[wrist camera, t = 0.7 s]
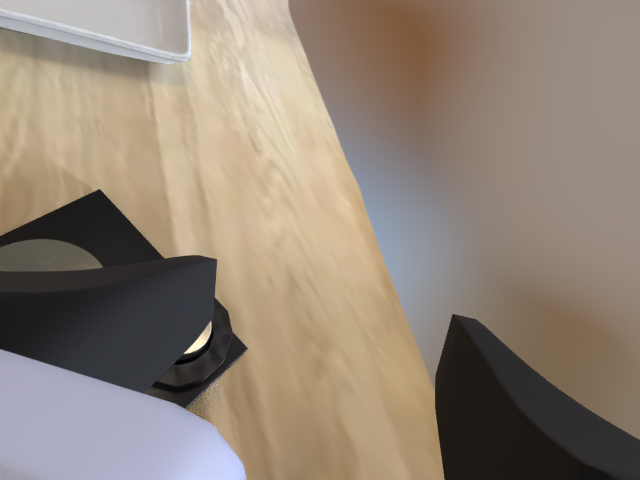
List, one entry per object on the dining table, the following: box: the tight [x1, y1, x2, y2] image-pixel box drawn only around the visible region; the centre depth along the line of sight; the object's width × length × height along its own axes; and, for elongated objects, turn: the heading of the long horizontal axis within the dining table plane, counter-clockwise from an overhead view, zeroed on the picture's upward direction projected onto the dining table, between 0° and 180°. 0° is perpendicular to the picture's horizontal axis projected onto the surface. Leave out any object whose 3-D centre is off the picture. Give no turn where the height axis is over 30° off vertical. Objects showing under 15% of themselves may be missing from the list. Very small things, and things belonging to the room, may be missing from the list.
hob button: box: [178, 321, 212, 361], centre depth 23 cm, size 3×3×2 cm
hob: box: [0, 189, 248, 409], centre depth 23 cm, size 12×16×3 cm
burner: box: [0, 239, 103, 271], centre depth 22 cm, size 8×8×1 cm
